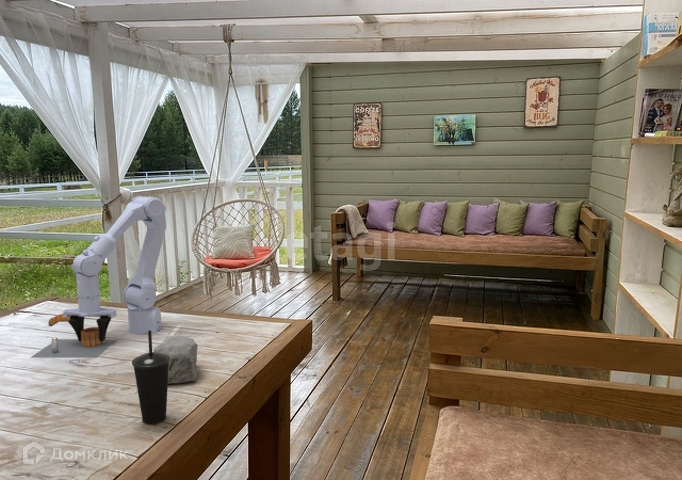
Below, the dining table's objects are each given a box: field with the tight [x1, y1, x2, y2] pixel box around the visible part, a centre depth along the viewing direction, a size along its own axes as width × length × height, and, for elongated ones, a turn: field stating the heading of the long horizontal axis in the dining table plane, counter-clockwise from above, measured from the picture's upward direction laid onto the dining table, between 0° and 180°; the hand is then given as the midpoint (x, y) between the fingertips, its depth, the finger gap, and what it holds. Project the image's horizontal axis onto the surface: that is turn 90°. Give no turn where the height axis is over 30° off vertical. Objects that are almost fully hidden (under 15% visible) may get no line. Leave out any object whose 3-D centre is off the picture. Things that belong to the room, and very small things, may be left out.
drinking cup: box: [131, 330, 170, 426], centre depth 109 cm, size 8×8×20 cm
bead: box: [81, 326, 103, 347], centre depth 149 cm, size 6×6×4 cm
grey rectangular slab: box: [30, 338, 118, 359], centre depth 146 cm, size 18×14×2 cm
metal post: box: [51, 336, 59, 354], centre depth 142 cm, size 2×2×4 cm
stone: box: [152, 335, 199, 385], centre depth 131 cm, size 13×12×10 cm
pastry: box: [48, 313, 70, 327], centre depth 172 cm, size 9×7×4 cm
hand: (92, 340), depth 150 cm, fingers closed on bead, 6 cm apart
